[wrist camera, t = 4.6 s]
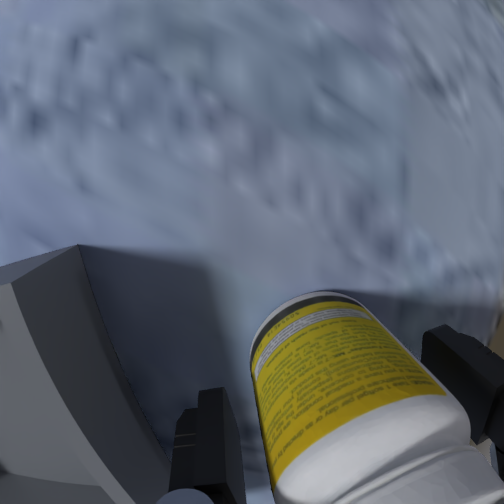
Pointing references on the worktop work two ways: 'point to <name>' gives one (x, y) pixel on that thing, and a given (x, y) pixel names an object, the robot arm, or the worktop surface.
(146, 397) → the worktop surface
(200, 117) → the worktop surface
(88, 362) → the tray
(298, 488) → the supplement bottle
